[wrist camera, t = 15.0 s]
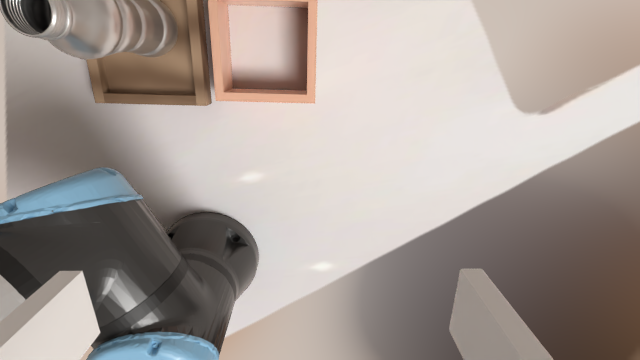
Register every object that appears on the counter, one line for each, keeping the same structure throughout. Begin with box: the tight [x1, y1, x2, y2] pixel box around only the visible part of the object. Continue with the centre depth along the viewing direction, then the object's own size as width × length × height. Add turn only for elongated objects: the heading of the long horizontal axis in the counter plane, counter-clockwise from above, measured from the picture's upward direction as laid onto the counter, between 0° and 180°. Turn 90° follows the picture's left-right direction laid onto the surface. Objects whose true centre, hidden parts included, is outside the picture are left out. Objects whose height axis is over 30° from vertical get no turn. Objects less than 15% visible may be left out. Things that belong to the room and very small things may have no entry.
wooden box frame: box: [208, 0, 317, 103], centre depth 41 cm, size 12×12×5 cm
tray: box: [86, 0, 212, 106], centre depth 41 cm, size 18×14×2 cm
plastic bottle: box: [0, 0, 178, 59], centre depth 32 cm, size 6×7×20 cm
